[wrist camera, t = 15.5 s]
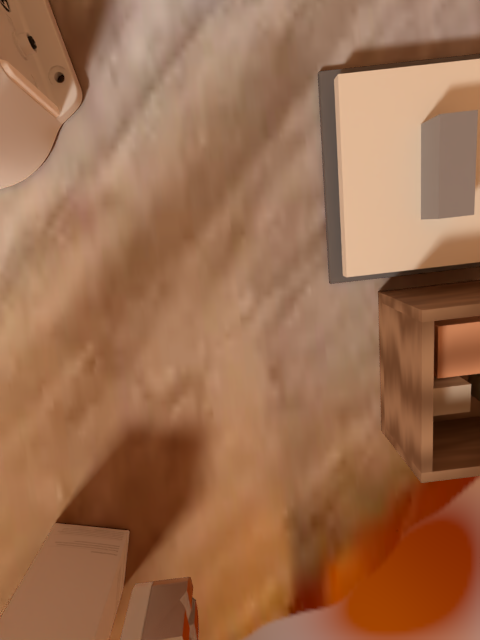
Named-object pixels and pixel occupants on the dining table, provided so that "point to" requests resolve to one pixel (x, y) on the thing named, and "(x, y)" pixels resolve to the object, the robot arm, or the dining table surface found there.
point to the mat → (332, 170)
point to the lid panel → (409, 167)
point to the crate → (432, 378)
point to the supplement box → (70, 586)
